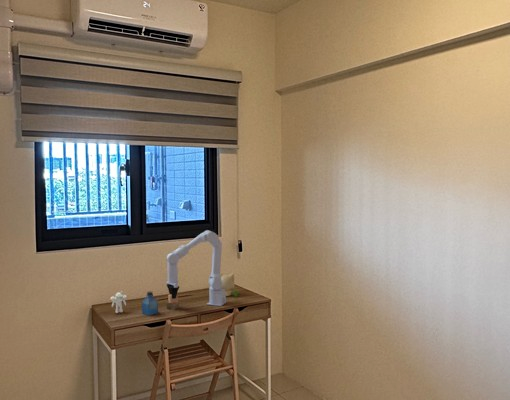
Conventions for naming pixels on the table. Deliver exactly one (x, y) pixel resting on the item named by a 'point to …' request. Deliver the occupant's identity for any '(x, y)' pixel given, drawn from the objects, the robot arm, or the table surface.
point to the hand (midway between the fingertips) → (173, 297)
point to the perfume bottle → (149, 305)
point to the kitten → (228, 284)
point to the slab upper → (172, 304)
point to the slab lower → (173, 307)
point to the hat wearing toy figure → (118, 301)
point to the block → (172, 299)
